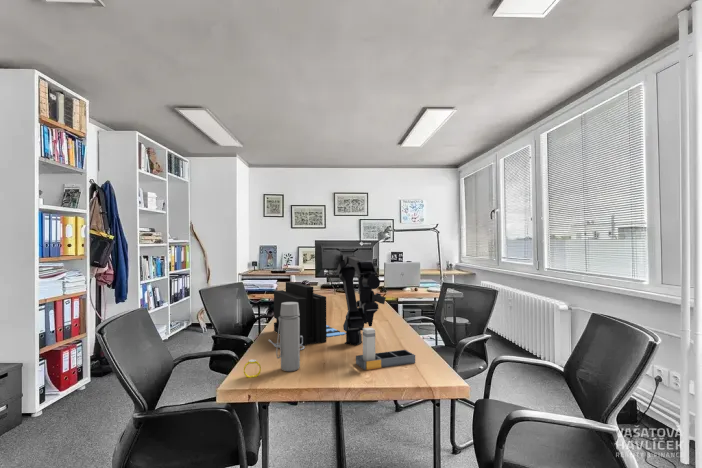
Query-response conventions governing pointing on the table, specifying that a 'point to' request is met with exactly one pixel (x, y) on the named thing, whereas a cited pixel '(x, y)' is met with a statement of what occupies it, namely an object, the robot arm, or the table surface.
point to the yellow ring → (252, 363)
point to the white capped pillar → (368, 344)
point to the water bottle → (289, 336)
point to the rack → (386, 359)
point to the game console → (306, 313)
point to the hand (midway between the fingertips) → (368, 324)
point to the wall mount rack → (279, 343)
